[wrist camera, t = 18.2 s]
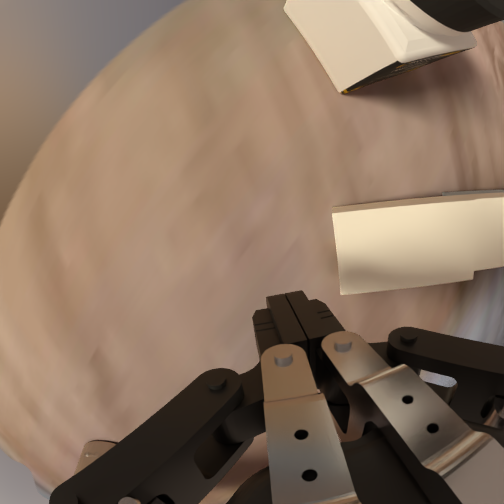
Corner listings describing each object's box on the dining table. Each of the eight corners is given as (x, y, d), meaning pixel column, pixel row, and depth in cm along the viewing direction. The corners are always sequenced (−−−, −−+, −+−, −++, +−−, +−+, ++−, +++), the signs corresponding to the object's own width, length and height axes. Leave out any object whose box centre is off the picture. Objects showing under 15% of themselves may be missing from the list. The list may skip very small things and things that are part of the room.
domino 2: (402, 268, 18) (500, 256, 15) (407, 279, 17) (510, 265, 14) (398, 199, 17) (502, 192, 14) (404, 204, 15) (514, 196, 12)
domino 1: (340, 281, 18) (463, 268, 15) (340, 294, 16) (472, 279, 13) (332, 207, 17) (464, 194, 14) (332, 213, 15) (476, 200, 12)
